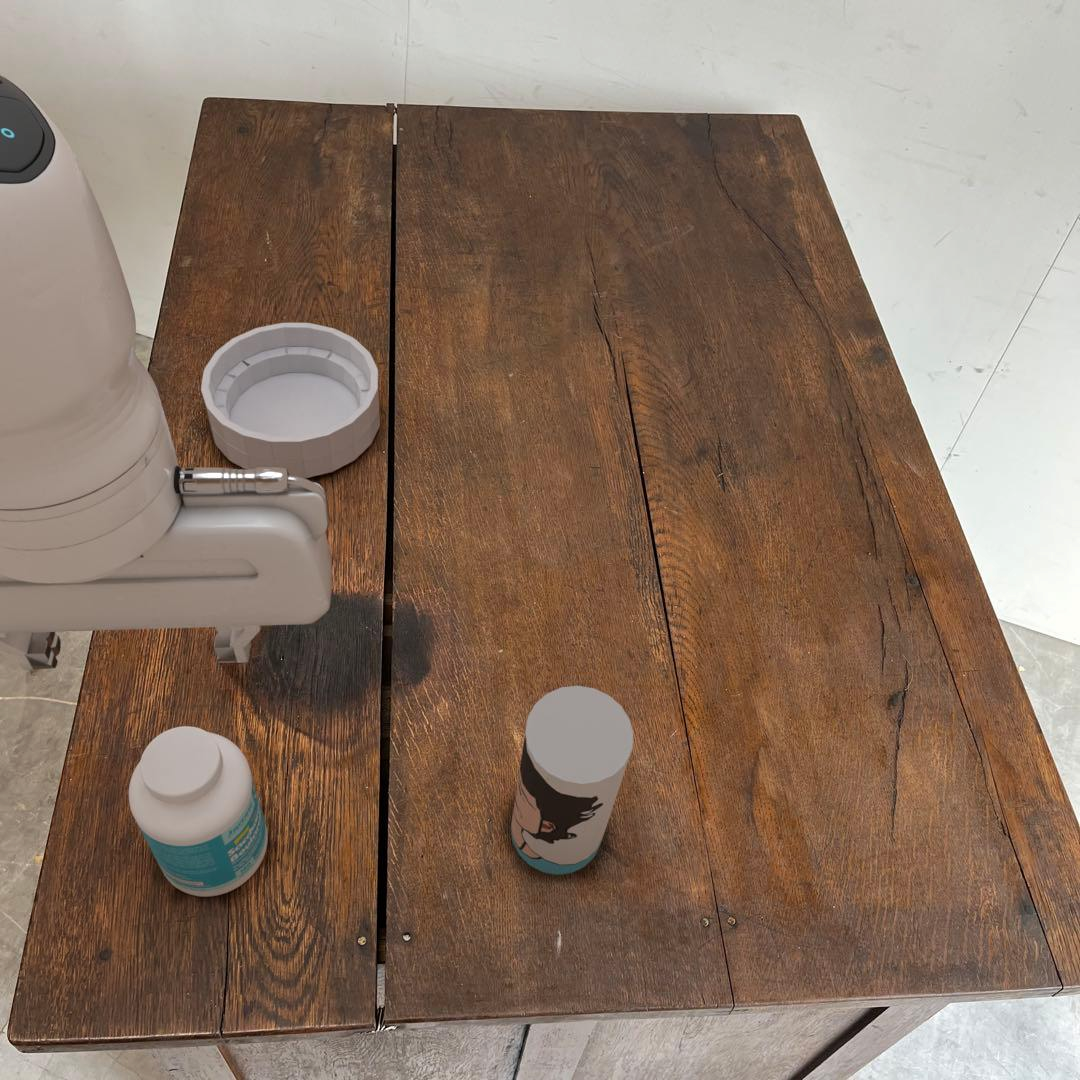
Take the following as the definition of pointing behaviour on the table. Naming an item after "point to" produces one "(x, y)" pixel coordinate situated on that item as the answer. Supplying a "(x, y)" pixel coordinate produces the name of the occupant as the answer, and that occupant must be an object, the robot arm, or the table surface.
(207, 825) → the pill bottle
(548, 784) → the printed label cylinder
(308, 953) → the table surface
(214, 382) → the faceted round dish
